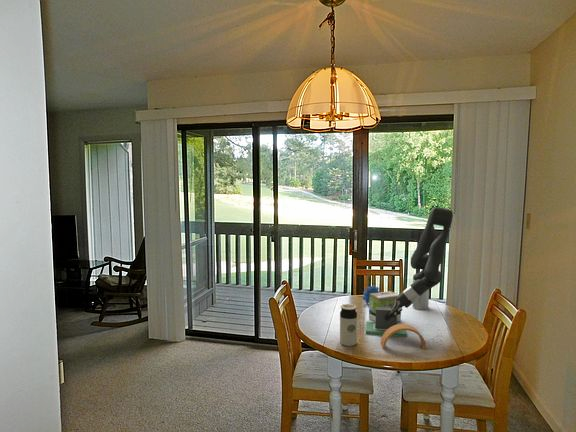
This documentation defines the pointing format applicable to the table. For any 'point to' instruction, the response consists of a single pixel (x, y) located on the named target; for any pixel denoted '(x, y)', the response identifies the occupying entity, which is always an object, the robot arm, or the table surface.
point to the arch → (399, 328)
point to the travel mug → (348, 325)
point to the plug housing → (380, 320)
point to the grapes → (370, 292)
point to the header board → (381, 330)
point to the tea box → (381, 303)
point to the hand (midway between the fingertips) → (385, 316)
